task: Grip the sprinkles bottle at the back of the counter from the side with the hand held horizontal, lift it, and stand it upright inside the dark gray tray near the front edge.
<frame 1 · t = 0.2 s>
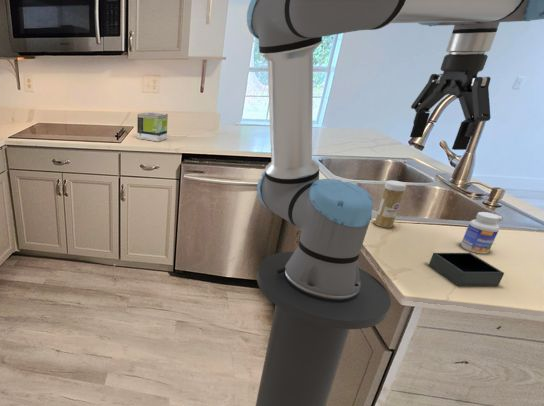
hand: (435, 143, 93), 26 cm above the worktop, tool pointing down, fingers open, 13 cm apart
pill bottle: (474, 249, 95), on the worktop
tea box: (151, 139, 216), on the worktop
sprinkles bottle: (383, 225, 108), on the worktop
dark gray tray: (461, 275, 84), on the worktop
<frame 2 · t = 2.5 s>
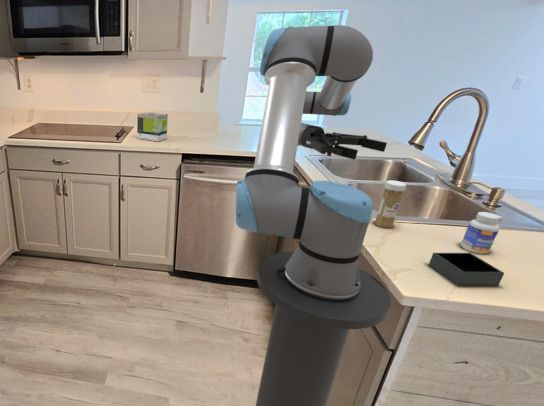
hand: (370, 151, 107), 21 cm above the worktop, tool horizontal, fingers open, 13 cm apart
nothing on the worktop moved.
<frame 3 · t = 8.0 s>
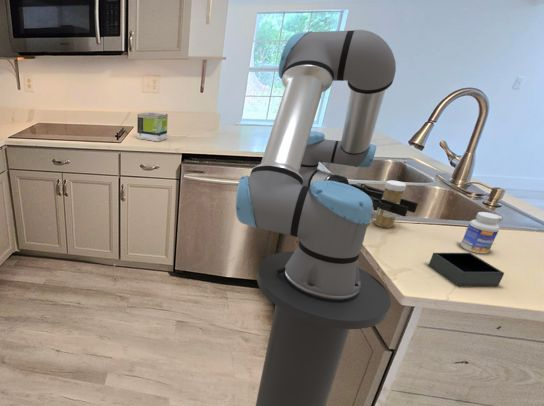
hand: (411, 209, 101), 7 cm above the worktop, tool horizontal, fingers closed on sprinkles bottle, 4 cm apart
sprinkles bottle: (383, 225, 108), on the worktop, touching gripper
everything else where it was.
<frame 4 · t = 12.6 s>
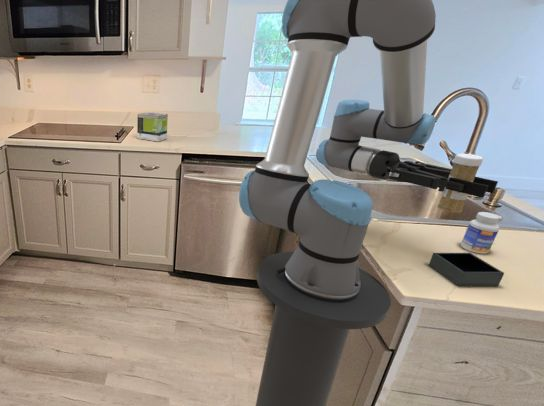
hand: (490, 189, 80), 20 cm above the worktop, tool horizontal, fingers closed on sprinkles bottle, 4 cm apart
sprinkles bottle: (448, 210, 87), point 13 cm above the worktop, touching gripper
everything else where it was.
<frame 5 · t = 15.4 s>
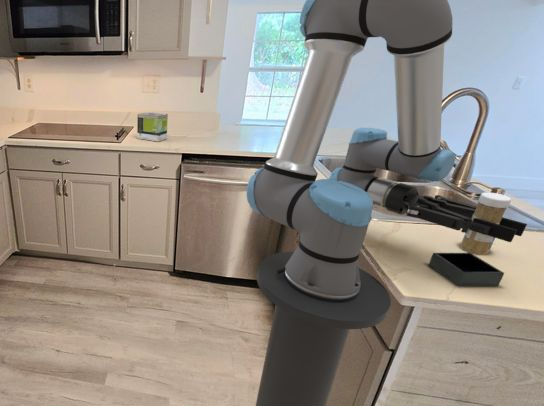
hand: (518, 233, 75), 14 cm above the worktop, tool horizontal, fingers closed on sprinkles bottle, 4 cm apart
sprinkles bottle: (472, 251, 82), point 6 cm above the worktop, touching gripper
everything else where it was.
when the fingers open (7 cm above the worktop, at t = 17.4 s): sprinkles bottle stays where it is, resting on dark gray tray.
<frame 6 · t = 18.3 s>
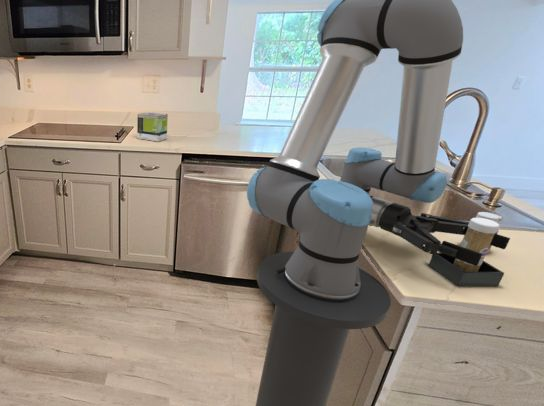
hand: (494, 251, 79), 8 cm above the worktop, tool horizontal, fingers open, 13 cm apart
sprinkles bottle: (462, 273, 84), resting on dark gray tray
everything else where it was.
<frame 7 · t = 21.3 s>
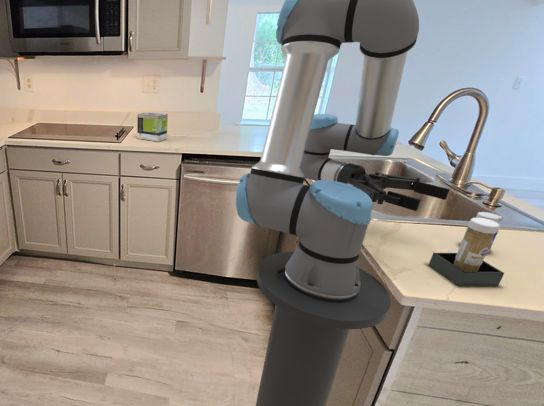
hand: (433, 199, 86), 16 cm above the worktop, tool horizontal, fingers open, 13 cm apart
nothing on the worktop moved.
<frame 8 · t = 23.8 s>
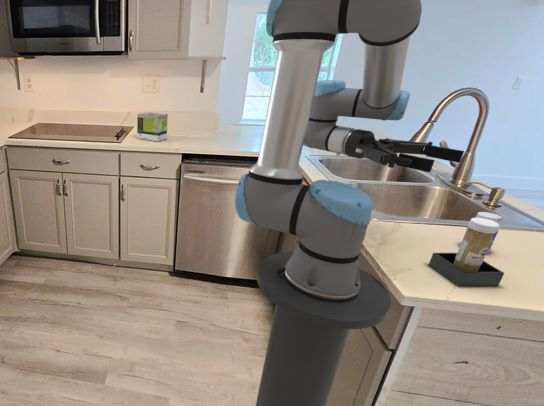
hand: (447, 161, 83), 25 cm above the worktop, tool horizontal, fingers open, 13 cm apart
nothing on the worktop moved.
at the end: sprinkles bottle 0.1 cm off-centre in the dark gray tray, point 0.3 cm above the dark gray tray's base; sprinkles bottle tilted 0°; the gripper is holding nothing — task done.
